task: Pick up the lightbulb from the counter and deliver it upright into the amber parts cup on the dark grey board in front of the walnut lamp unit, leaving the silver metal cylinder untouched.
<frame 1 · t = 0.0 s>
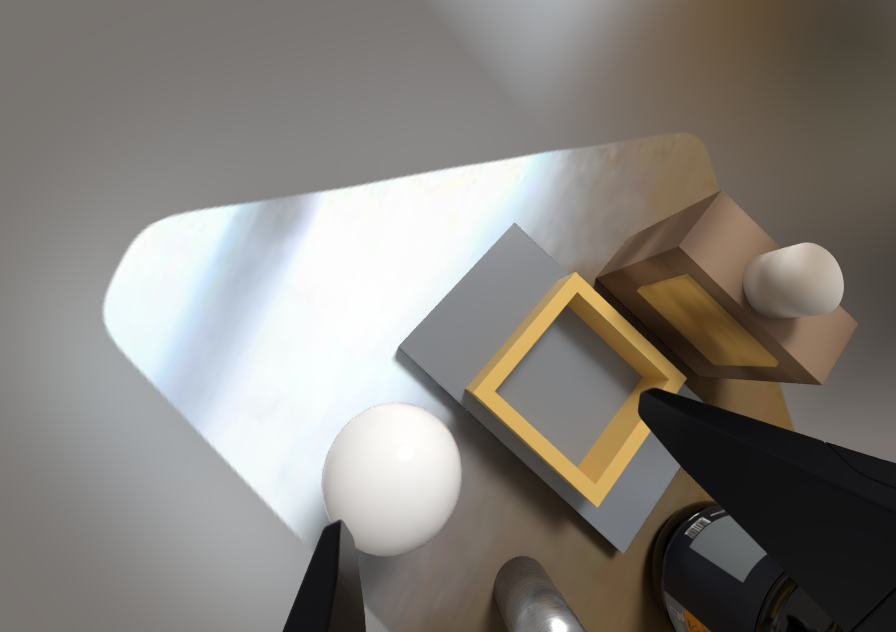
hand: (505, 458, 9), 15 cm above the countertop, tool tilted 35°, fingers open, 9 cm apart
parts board: (560, 380, 25), on the countertop
lamp unit: (663, 306, 27), on the countertop
supplement container: (701, 564, 25), on the countertop
lightbulb: (395, 431, 23), on the countertop
silver metal cylinder: (521, 586, 23), on the countertop
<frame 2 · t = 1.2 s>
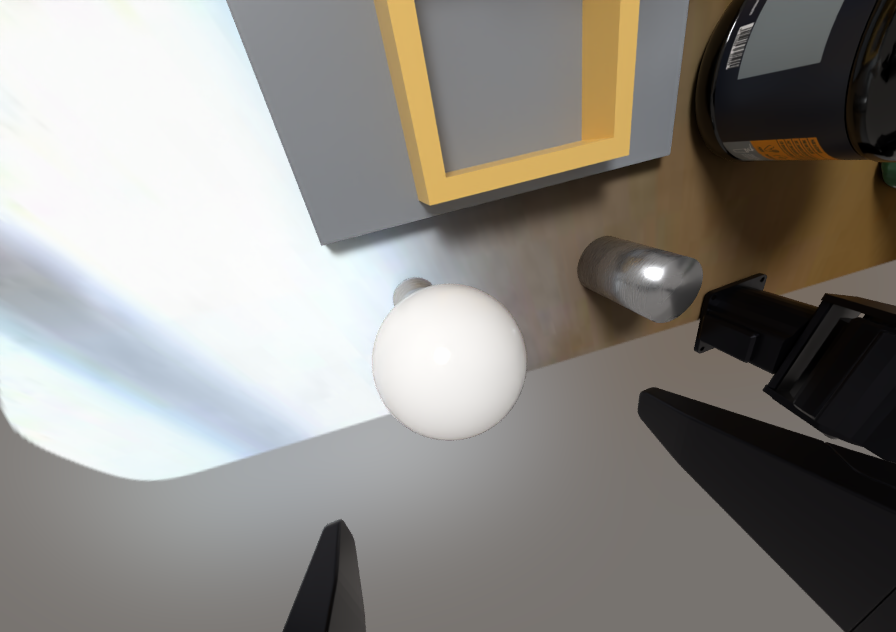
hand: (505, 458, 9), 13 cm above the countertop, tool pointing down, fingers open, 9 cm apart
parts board: (492, 60, 16), on the countertop
supplement container: (747, 73, 21), on the countertop
lightbulb: (412, 293, 20), on the countertop
silver metal cylinder: (600, 263, 24), on the countertop
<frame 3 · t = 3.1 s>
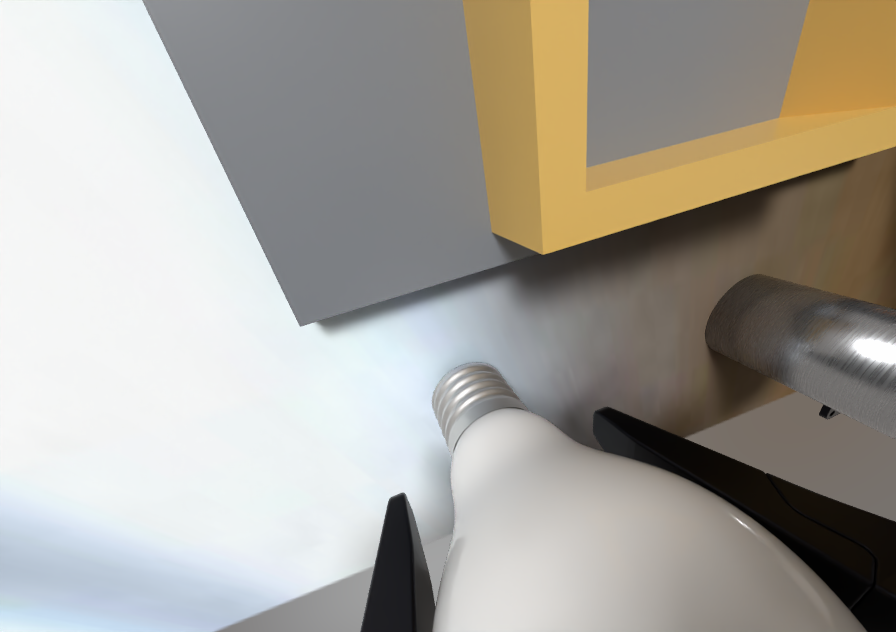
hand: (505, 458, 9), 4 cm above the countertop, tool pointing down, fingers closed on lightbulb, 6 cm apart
lightbulb: (460, 380, 12), on the countertop, touching gripper
silver metal cylinder: (739, 314, 15), on the countertop
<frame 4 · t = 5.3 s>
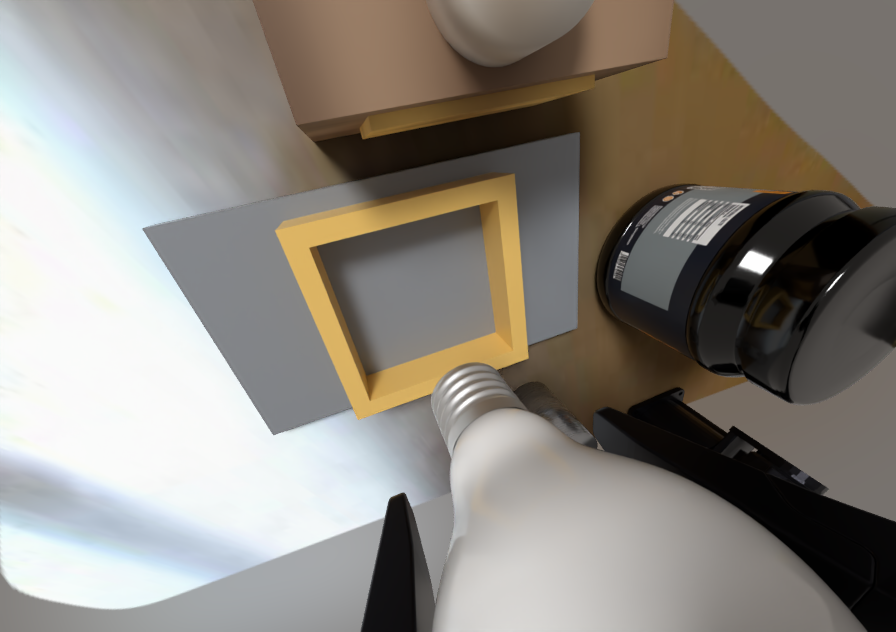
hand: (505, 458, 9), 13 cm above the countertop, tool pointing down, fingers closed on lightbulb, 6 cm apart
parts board: (414, 286, 20), on the countertop
lamp unit: (422, 58, 15), on the countertop
supplement container: (645, 255, 25), on the countertop
lightbulb: (459, 380, 12), point 9 cm above the countertop, touching gripper
silver metal cylinder: (528, 401, 27), on the countertop
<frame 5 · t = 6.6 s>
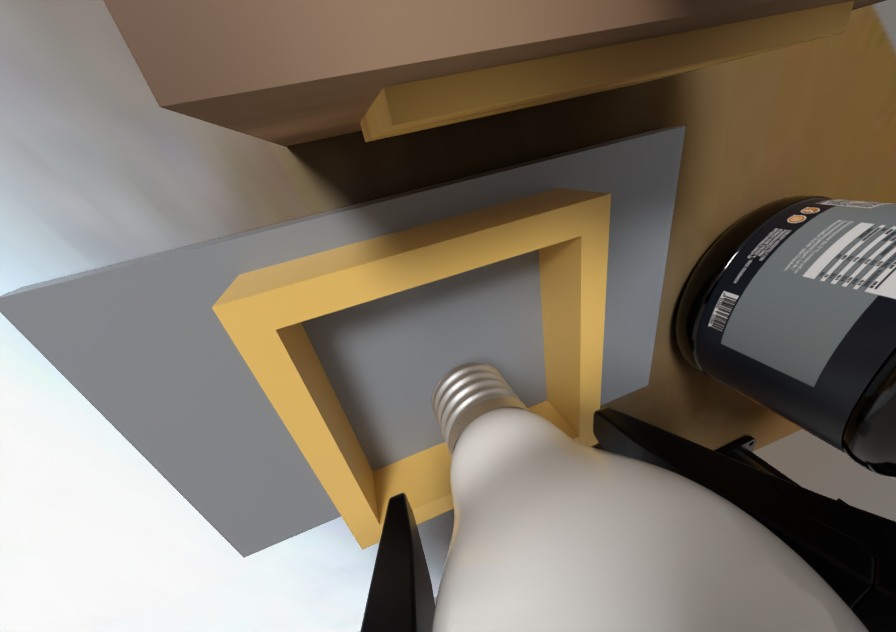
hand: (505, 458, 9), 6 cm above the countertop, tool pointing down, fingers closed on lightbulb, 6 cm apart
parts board: (439, 347, 14), on the countertop
lamp unit: (460, 7, 9), on the countertop
supplement container: (733, 286, 19), on the countertop
lightbulb: (459, 380, 12), point 2 cm above the countertop, touching gripper
when the fingers open (6 cm above the countertop, at t = 7.5 s): lightbulb drops 1 cm, resting on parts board.
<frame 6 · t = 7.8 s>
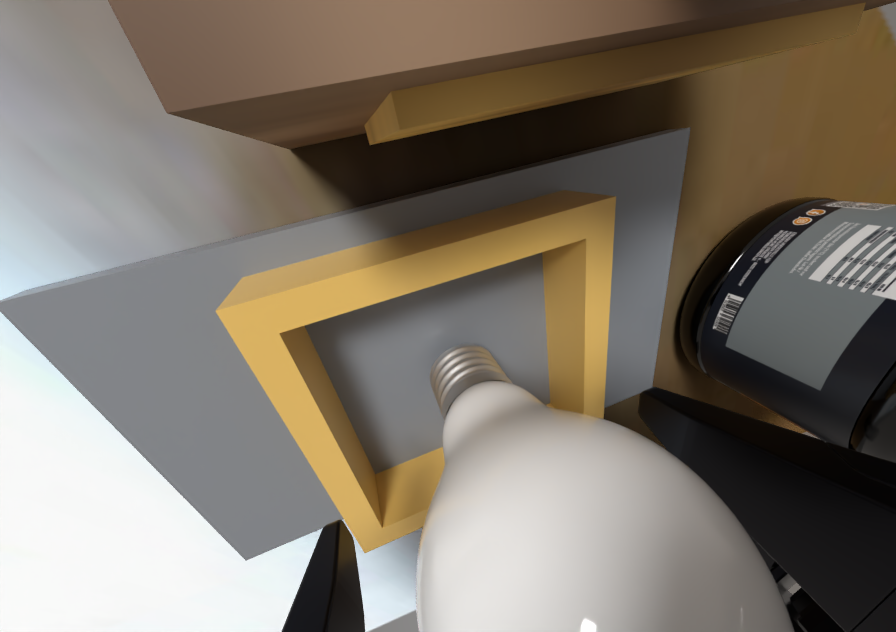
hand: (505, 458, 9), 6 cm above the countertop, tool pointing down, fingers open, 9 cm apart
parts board: (442, 349, 14), on the countertop
lamp unit: (464, 9, 9), on the countertop
supplement container: (737, 289, 19), on the countertop
lightbulb: (455, 361, 13), point 1 cm above the countertop, touching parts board
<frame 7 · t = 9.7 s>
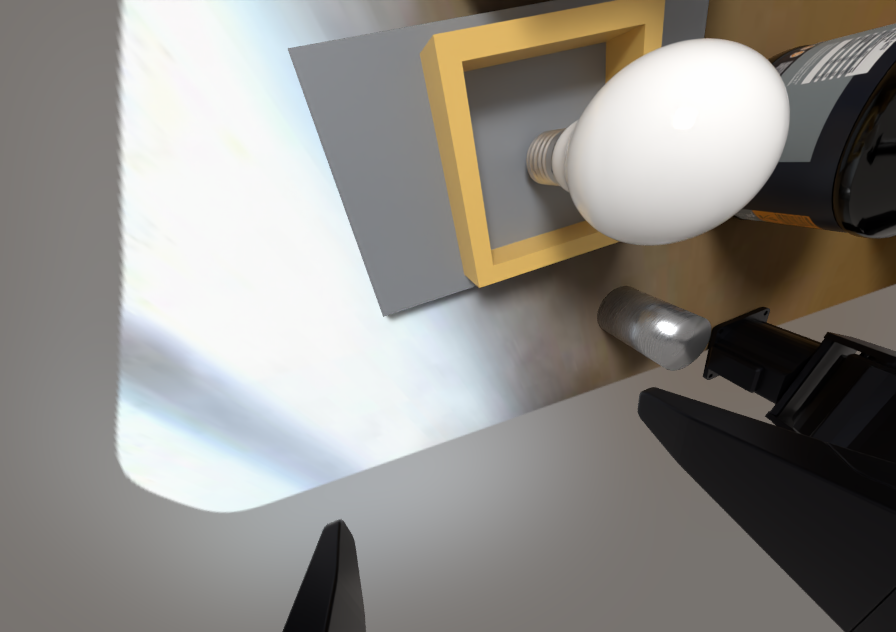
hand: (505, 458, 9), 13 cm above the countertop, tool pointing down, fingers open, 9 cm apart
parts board: (527, 156, 19), on the countertop
supplement container: (748, 142, 24), on the countertop
lightbulb: (539, 158, 18), point 1 cm above the countertop, touching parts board
silver metal cylinder: (618, 309, 26), on the countertop
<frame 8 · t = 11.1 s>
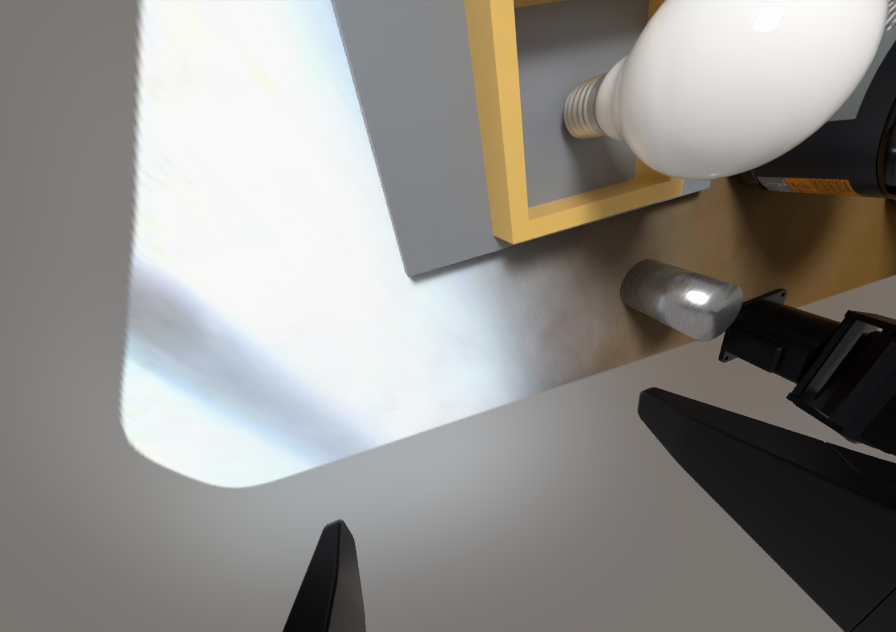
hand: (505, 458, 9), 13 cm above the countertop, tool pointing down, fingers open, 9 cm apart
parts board: (561, 112, 18), on the countertop
supplement container: (778, 113, 23), on the countertop
lightbulb: (575, 112, 18), point 1 cm above the countertop, touching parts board
silver metal cylinder: (641, 283, 26), on the countertop
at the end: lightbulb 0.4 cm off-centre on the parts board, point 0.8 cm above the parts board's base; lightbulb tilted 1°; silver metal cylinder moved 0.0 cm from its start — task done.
